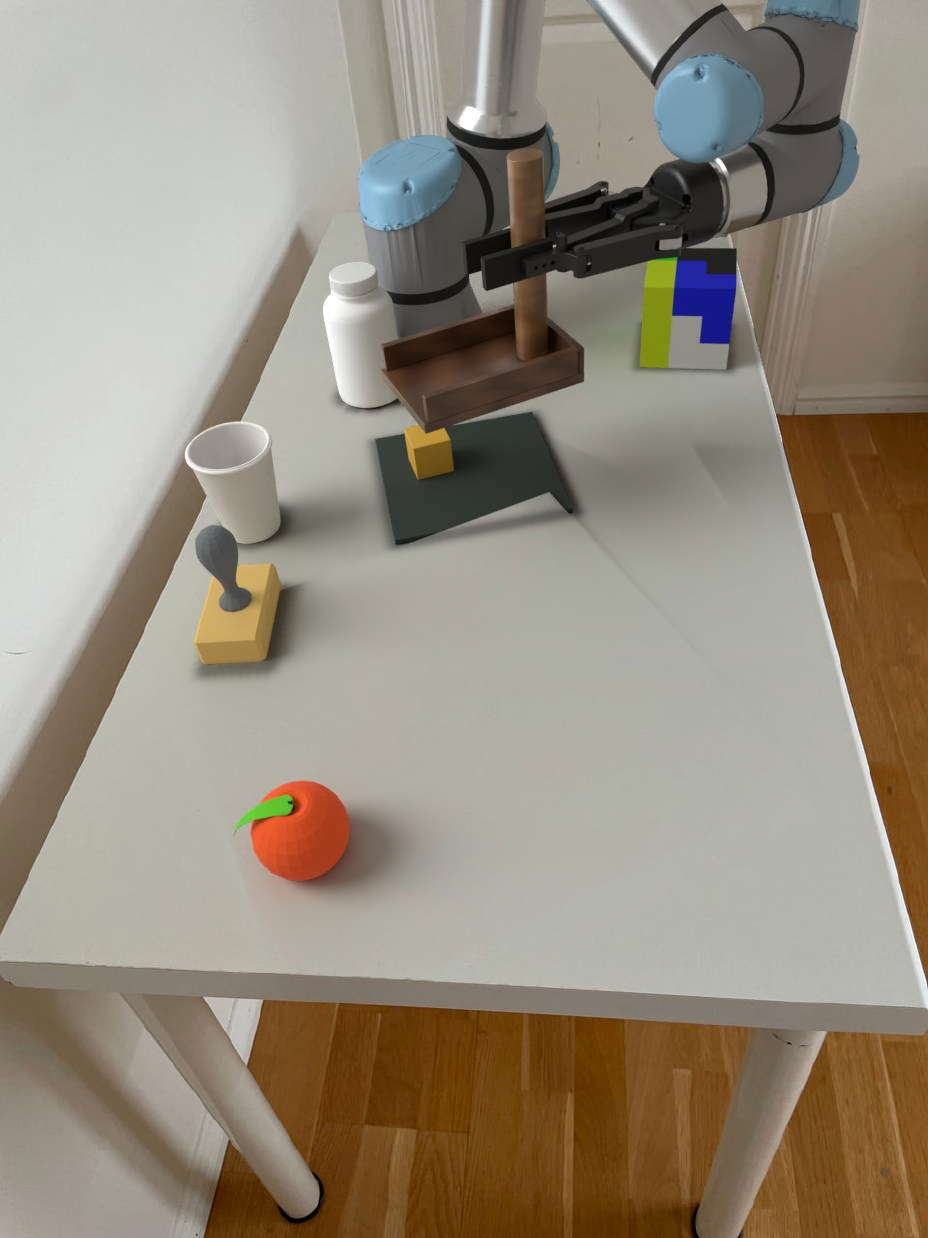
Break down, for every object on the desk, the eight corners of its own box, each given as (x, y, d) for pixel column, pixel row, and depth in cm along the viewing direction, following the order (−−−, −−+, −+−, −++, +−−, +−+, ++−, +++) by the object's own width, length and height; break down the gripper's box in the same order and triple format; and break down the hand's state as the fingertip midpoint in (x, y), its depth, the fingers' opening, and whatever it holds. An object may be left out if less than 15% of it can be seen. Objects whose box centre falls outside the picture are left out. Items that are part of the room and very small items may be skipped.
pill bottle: (415, 377, 114) (398, 257, 104) (390, 413, 109) (370, 291, 99) (355, 371, 117) (333, 253, 106) (328, 406, 111) (302, 286, 101)
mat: (375, 442, 105) (375, 438, 105) (532, 415, 106) (532, 411, 106) (395, 544, 93) (394, 540, 92) (572, 512, 94) (572, 508, 93)
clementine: (250, 912, 66) (223, 859, 61) (247, 829, 71) (222, 774, 66) (362, 887, 67) (345, 833, 62) (351, 806, 72) (334, 750, 66)
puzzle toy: (726, 369, 110) (736, 288, 103) (639, 367, 112) (643, 287, 105) (727, 327, 116) (736, 248, 109) (645, 325, 118) (649, 247, 111)
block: (440, 419, 99) (403, 428, 99) (450, 439, 97) (413, 448, 96) (443, 450, 102) (408, 459, 102) (454, 471, 99) (417, 480, 99)
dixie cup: (284, 492, 100) (261, 411, 93) (301, 538, 95) (279, 456, 88) (206, 513, 99) (178, 434, 92) (220, 562, 93) (191, 481, 86)
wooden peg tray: (529, 332, 94) (521, 128, 81) (584, 381, 87) (585, 167, 73) (381, 378, 90) (347, 172, 77) (425, 434, 83) (396, 218, 69)
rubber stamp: (268, 668, 82) (233, 567, 74) (203, 671, 83) (161, 571, 74) (283, 590, 89) (253, 489, 81) (224, 593, 90) (187, 493, 81)
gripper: (752, 269, 84) (519, 345, 78) (651, 210, 94) (439, 273, 89) (764, 182, 78) (515, 257, 73) (655, 130, 89) (431, 191, 83)
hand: (474, 266), depth 81 cm, fingers closed on wooden peg tray, 3 cm apart
